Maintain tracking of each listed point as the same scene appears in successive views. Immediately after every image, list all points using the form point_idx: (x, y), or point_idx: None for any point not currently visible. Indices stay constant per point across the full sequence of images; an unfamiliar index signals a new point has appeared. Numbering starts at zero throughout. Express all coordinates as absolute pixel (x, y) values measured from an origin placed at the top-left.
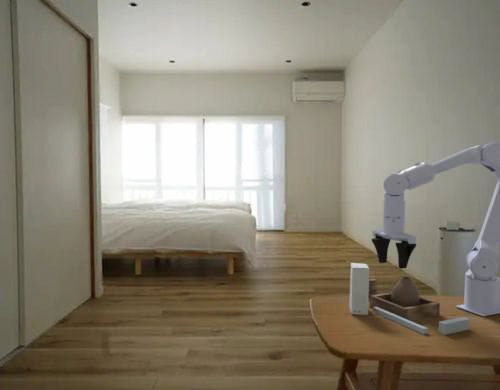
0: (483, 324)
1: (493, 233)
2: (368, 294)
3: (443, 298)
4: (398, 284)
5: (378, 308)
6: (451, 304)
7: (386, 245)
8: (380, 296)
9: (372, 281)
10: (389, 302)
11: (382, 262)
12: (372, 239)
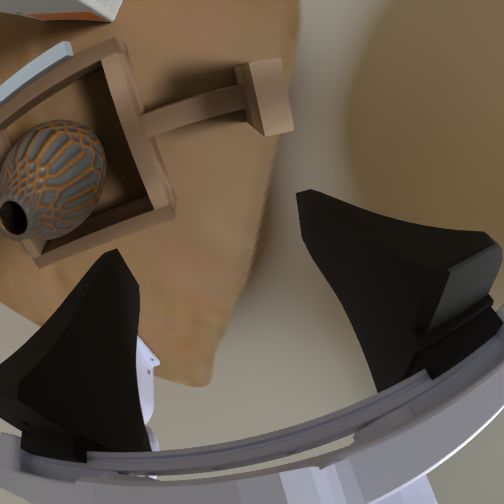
0: (21, 302)
1: None
2: (5, 12)
3: (203, 320)
4: (15, 164)
5: (49, 57)
6: (149, 315)
7: (363, 331)
8: (109, 85)
9: (258, 106)
10: (22, 98)
11: (298, 208)
12: (487, 243)
